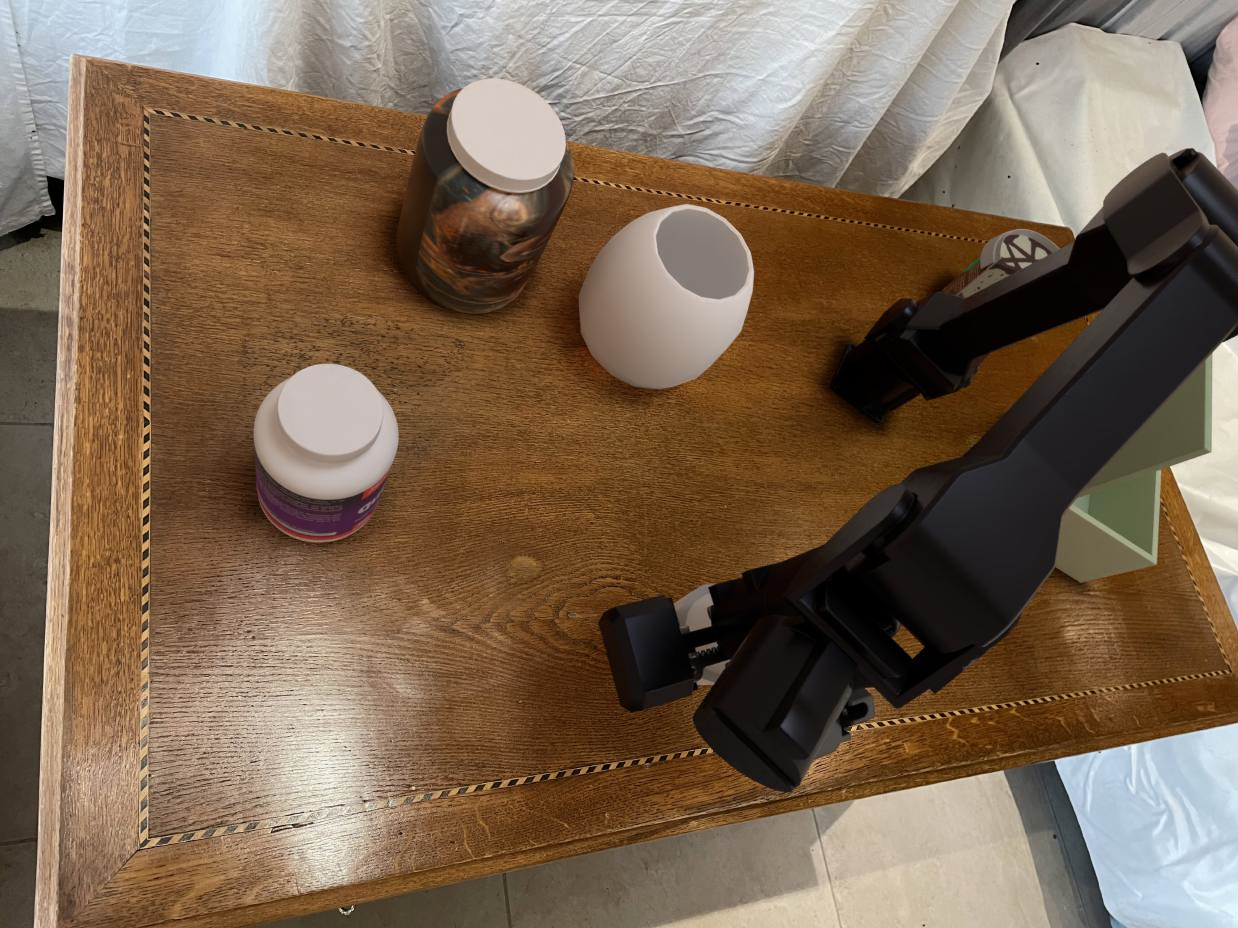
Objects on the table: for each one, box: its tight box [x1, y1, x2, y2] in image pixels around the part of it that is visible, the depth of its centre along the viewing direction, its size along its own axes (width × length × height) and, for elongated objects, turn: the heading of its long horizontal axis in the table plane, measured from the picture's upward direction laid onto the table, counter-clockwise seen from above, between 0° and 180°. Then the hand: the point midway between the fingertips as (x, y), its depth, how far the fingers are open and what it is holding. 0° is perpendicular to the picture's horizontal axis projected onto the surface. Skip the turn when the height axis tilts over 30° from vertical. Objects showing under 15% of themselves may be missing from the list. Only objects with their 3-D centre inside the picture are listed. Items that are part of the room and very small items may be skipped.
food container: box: [940, 228, 1060, 298], centre depth 86 cm, size 12×6×10 cm, turn 84°
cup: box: [578, 203, 755, 390], centre depth 65 cm, size 13×13×14 cm
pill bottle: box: [253, 363, 400, 543], centre depth 49 cm, size 8×8×14 cm
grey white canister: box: [673, 582, 730, 686], centre depth 56 cm, size 7×7×7 cm
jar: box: [396, 77, 575, 315], centre depth 60 cm, size 12×12×15 cm
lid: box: [1077, 352, 1214, 498], centre depth 69 cm, size 13×13×1 cm
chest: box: [1055, 469, 1162, 584], centre depth 80 cm, size 12×13×8 cm
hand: (685, 643), depth 58 cm, fingers closed on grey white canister, 6 cm apart
